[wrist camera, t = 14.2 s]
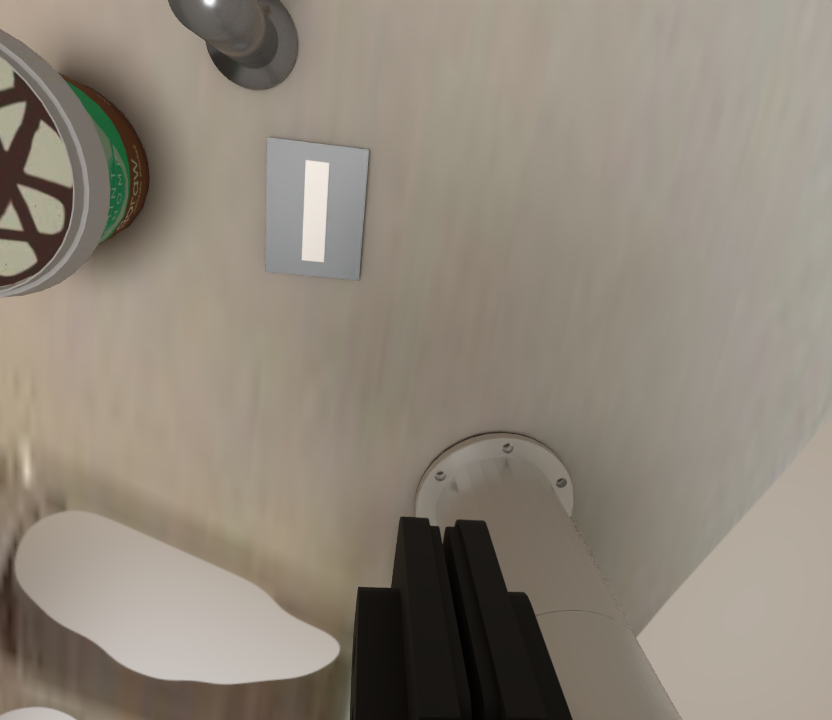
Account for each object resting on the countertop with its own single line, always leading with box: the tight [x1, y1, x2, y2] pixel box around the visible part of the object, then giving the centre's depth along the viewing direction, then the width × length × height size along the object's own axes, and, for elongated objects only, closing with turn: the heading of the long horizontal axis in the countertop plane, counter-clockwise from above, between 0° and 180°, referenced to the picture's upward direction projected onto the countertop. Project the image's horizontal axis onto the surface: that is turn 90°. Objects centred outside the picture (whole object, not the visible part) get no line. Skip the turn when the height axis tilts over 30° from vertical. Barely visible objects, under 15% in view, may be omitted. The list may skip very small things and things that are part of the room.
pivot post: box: [168, 0, 298, 90], centre depth 26 cm, size 5×5×10 cm
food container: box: [0, 29, 149, 297], centre depth 28 cm, size 12×6×10 cm, turn 171°
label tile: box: [265, 137, 369, 281], centre depth 33 cm, size 8×6×1 cm
